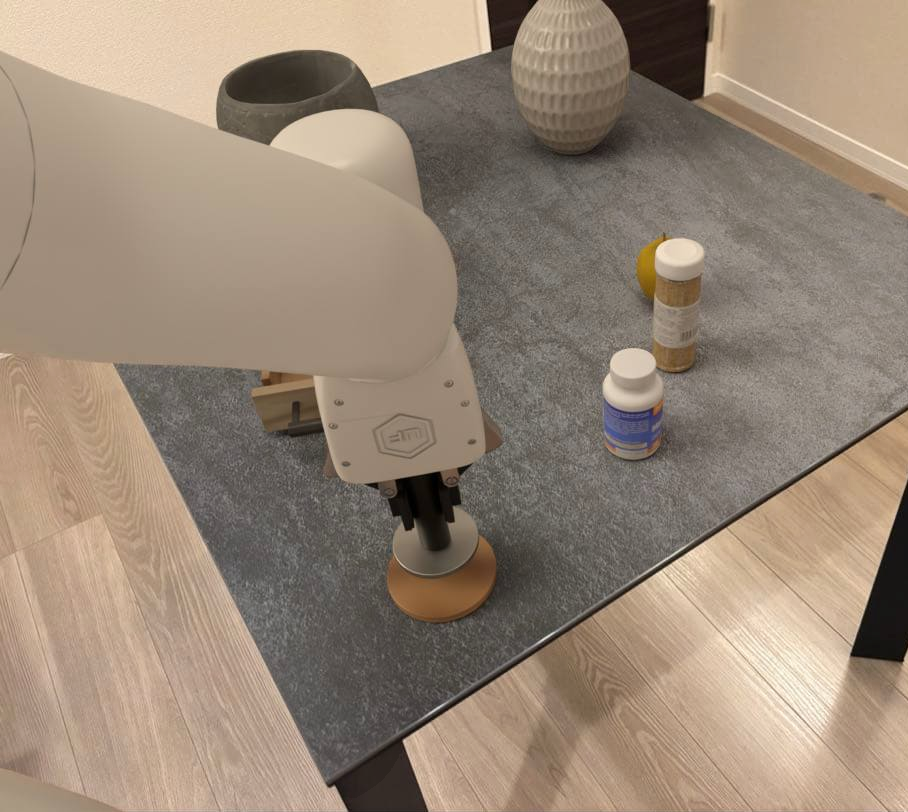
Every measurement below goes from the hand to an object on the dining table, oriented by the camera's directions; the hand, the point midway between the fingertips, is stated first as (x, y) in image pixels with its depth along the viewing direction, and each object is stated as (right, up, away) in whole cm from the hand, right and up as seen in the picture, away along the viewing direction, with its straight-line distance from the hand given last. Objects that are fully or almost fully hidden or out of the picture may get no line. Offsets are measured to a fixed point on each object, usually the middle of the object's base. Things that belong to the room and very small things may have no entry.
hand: (428, 510), depth 63 cm
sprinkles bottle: (+22, +13, +23) cm, 34 cm away
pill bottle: (+17, +5, +15) cm, 23 cm away
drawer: (-13, +10, +21) cm, 27 cm away
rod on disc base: (0, -3, +3) cm, 4 cm away
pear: (+22, +20, +30) cm, 42 cm away
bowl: (-23, +40, +54) cm, 71 cm away
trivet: (0, -6, +6) cm, 8 cm away
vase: (+13, +46, +58) cm, 75 cm away
